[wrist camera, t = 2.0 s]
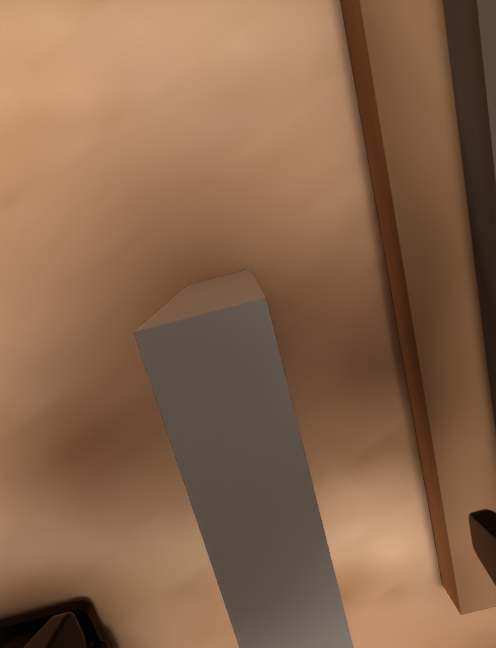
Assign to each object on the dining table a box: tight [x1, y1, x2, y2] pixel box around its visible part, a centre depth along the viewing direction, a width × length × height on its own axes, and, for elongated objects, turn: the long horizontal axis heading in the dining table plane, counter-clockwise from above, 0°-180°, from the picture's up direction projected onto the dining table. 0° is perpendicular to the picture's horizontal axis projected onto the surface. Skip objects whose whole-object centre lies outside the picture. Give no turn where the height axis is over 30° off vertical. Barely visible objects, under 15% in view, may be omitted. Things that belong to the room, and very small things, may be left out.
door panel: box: [134, 269, 353, 648], centre depth 12 cm, size 2×12×8 cm, turn 14°
